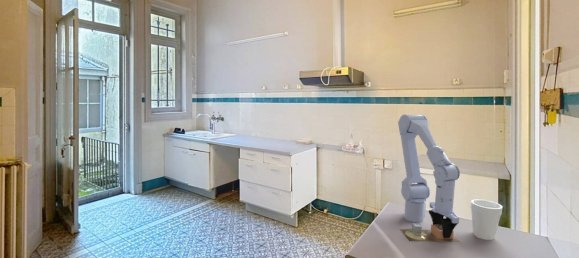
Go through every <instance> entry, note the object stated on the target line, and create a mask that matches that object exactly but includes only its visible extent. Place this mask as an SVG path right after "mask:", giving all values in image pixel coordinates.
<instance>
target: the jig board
mask: <svg viewBox="0 0 579 258" xmlns="http://www.w3.org/2000/svg"><path fill="white" fill-rule="evenodd" d="M399 230H400V232H401V233H402V234H403V236H404V237H405V238H406V239H407V240H408V241H409V242H436V243H437V242H441V243H443V242H445V243H461V241H460V240H459V239H458V238H457V237H456V236H454V235H453V239H438V238H437V237H436V236H435V235H433V234H432V233H431V229H422V231H421V232H423V233H425V234H426V235H427V236H428V238H427V239H426V240H415V239H412V238H410V237H408V236H406V235H405V231H407V230H412V228H410V229H406V228H399Z"/></svg>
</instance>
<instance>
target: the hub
mask: <svg viewBox="0 0 579 258" xmlns="http://www.w3.org/2000/svg"><path fill="white" fill-rule="evenodd" d="M411 229H412V230H407V231H405V235H406V236H408V237H410V238H412V239H415V240H426V239H427V238H428V236H427V235H426V234H425V233H423V232H421V231H422V230H423V227H422V225H421V224H420V223H411ZM405 235H404V236H405Z"/></svg>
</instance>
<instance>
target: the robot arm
mask: <svg viewBox="0 0 579 258" xmlns="http://www.w3.org/2000/svg"><path fill="white" fill-rule="evenodd" d="M397 123H398V130H399V136H400V141H401V146H402V154H403V161H404V168H405V174H406V176H405V178H404V179H403V180H402V181H401V189H400V192H401V196H402V197H403V199H404V200H405V202H404V203H405V204H404V219H405V220H406V221H408V222H412V223H423V221H424V218H426V210H427V209H426V208H427V203H426V202H427V199H428V198H430V194H431V191H430V187H429V186H428V182H427V179H426V178H424V177H423V176H421V170H420V163H419V156H418V151H417V145H416V144H417V143H416V138H417V136H418V137H419V138H420V140H421V141H422V142H423V144H424V146H425V148H426V149H427V150H426V155H427V157H428V159H429V161H430V163H431V166H432V167H433V169H434V170H433V177H434V180H435V181H434V183H435V185H436V187H435V189H436V190H435V197H434V198H435V200H434V201H433V202H431V201H430V202H429V208H430V209H431V210H430V209H429V210H428V213H429V215H430V219H431V221H432V225H434V224H442V228H443V237H444V238H450V236H451V234H452V231H454V229H455V228H456V227H457V225H458V224H460V217H459V216H458V215H457V214H456V213H455V211H454V197H455V189H456V188H455V186H456V181H457V180H458V179H460V176H461V174H460V173H461V172H460V169H459V167H458V165H456V164H454V163H453V162H452V161H450V159H449V157H448V156H447V154H446V152H445V150H444V148H443V147H441V146H438V145H437V143H436V141H435V139H434V136H433V134H432V132H431V130H430V128H429V126H430V121H429V120H428V118H427V116H426V115H425V114H402V115H401V116H400V118H399V120H398V121H397Z"/></svg>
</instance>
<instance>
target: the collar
mask: <svg viewBox="0 0 579 258" xmlns="http://www.w3.org/2000/svg"><path fill="white" fill-rule="evenodd" d="M430 225H431V226H430V230H431V233H432V234H433V235H435V236H436V237H437V238H438V239H453V236H454V230H453V231H452V234H451V236H450V238H444V237H443V230H440V229H439V224H434V225H433V224H430Z"/></svg>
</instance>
